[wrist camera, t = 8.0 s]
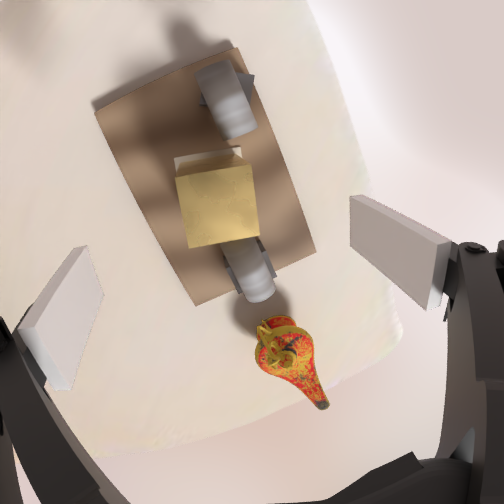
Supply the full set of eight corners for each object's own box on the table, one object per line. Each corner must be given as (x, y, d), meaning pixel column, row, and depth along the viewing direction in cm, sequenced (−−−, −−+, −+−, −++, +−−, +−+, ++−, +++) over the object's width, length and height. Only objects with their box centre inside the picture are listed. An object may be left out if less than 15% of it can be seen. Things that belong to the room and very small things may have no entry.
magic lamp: (290, 387, 42) (313, 446, 32) (219, 307, 35) (232, 377, 25) (331, 363, 42) (362, 420, 32) (272, 274, 34) (304, 336, 24)
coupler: (189, 215, 29) (189, 248, 21) (179, 162, 27) (174, 177, 19) (242, 205, 29) (260, 235, 22) (235, 153, 27) (251, 164, 20)
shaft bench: (97, 113, 24) (75, 111, 19) (235, 50, 24) (246, 33, 19) (195, 300, 34) (197, 333, 28) (312, 247, 34) (334, 272, 28)
